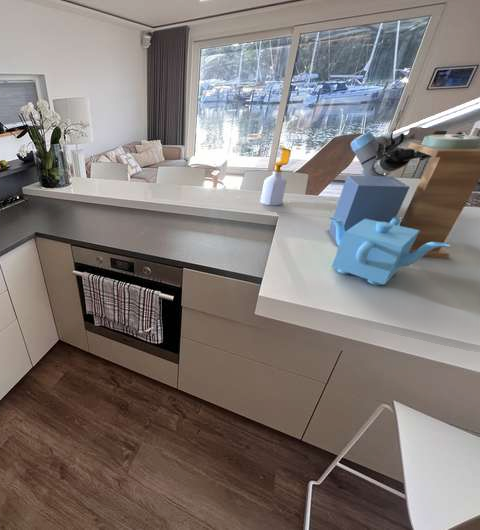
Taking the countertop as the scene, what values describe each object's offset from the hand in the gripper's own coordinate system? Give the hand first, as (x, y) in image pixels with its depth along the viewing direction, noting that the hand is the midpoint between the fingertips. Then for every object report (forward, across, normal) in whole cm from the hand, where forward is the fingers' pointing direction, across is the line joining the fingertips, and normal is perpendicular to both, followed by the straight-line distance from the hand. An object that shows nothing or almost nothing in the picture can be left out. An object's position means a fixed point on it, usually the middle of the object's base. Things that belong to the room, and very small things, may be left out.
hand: (430, 137), depth 88 cm
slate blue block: (-4, +14, -33) cm, 36 cm away
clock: (+6, +1, -4) cm, 7 cm away
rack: (-4, 0, -33) cm, 33 cm away
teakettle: (+14, +16, -44) cm, 49 cm away
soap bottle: (-35, +37, -15) cm, 53 cm away
